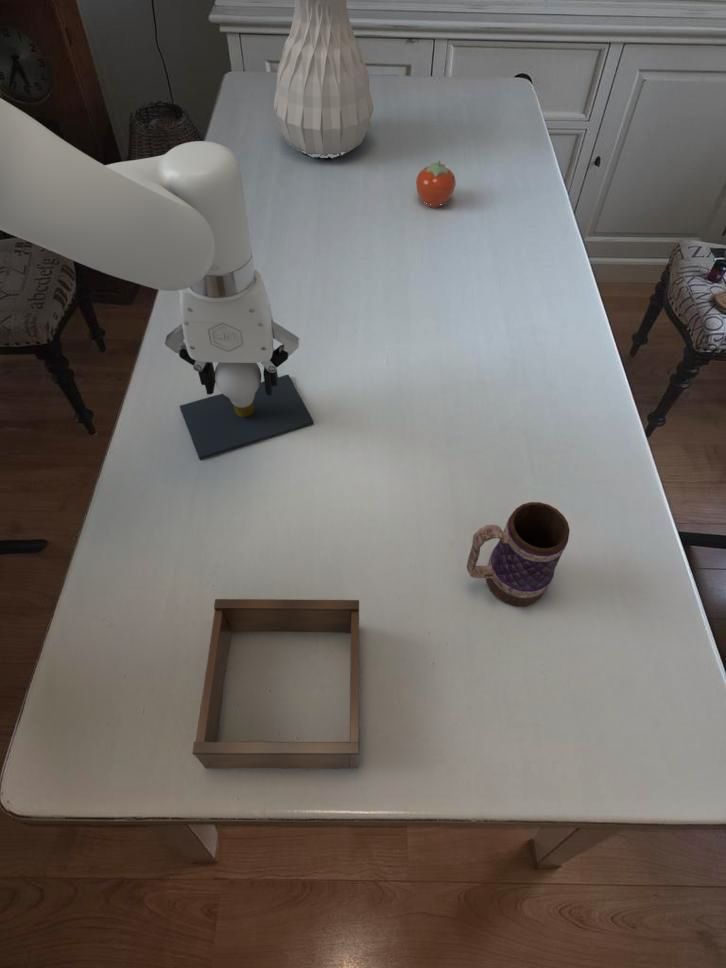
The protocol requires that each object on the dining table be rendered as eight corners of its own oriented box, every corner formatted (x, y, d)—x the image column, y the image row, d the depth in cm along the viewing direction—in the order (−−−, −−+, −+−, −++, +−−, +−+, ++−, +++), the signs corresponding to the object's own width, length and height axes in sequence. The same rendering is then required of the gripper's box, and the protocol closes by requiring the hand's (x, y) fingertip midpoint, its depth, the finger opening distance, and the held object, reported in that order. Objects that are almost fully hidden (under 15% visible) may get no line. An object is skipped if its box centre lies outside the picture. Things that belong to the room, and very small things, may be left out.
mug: (536, 550, 75) (564, 492, 65) (553, 605, 71) (586, 551, 61) (452, 558, 74) (468, 500, 64) (464, 613, 70) (483, 560, 60)
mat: (199, 460, 82) (198, 457, 81) (180, 408, 87) (179, 405, 87) (313, 424, 86) (313, 421, 86) (288, 377, 91) (288, 374, 91)
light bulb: (225, 432, 84) (212, 378, 76) (222, 401, 87) (209, 346, 79) (269, 426, 85) (260, 372, 77) (264, 395, 88) (255, 340, 80)
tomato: (456, 211, 119) (463, 169, 112) (418, 214, 118) (422, 171, 111) (447, 191, 123) (453, 149, 117) (410, 193, 122) (414, 151, 116)
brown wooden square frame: (204, 769, 60) (192, 753, 55) (224, 623, 69) (215, 598, 64) (357, 769, 60) (359, 753, 55) (358, 624, 69) (359, 599, 64)
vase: (295, 178, 125) (283, -6, 100) (264, 133, 135) (246, -43, 111) (387, 161, 130) (396, -19, 105) (350, 119, 140) (351, -53, 116)
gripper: (130, 289, 65) (169, 407, 80) (297, 292, 66) (306, 409, 80) (145, 247, 70) (179, 366, 84) (301, 250, 70) (308, 368, 85)
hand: (240, 386), depth 82 cm, fingers open, 7 cm apart
